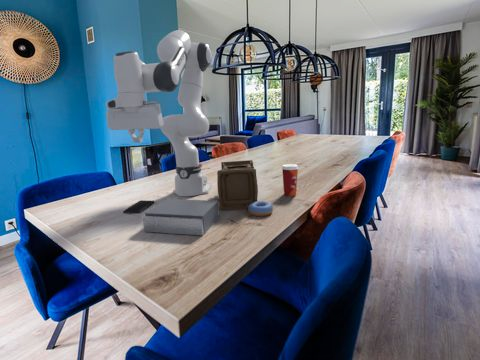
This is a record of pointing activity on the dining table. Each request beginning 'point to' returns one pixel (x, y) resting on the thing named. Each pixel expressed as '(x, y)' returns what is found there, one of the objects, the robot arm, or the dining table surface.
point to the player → (188, 210)
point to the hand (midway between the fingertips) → (138, 142)
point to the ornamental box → (237, 185)
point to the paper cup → (290, 179)
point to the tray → (173, 225)
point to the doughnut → (260, 208)
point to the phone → (138, 207)
